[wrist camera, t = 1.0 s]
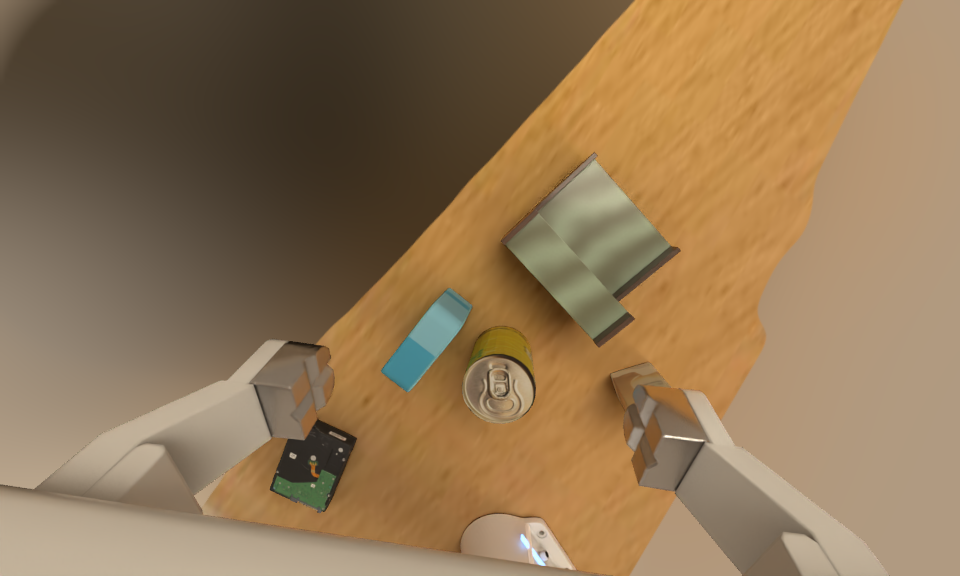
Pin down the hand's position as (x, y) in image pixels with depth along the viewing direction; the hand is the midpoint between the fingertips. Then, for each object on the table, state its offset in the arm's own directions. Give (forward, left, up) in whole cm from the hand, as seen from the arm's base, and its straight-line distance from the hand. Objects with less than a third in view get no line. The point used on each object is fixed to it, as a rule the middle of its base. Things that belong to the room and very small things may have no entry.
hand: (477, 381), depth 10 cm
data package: (-1, +16, -44) cm, 47 cm away
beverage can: (-11, +12, -44) cm, 47 cm away
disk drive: (-4, +49, -44) cm, 66 cm away
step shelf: (-6, -8, -44) cm, 45 cm away
